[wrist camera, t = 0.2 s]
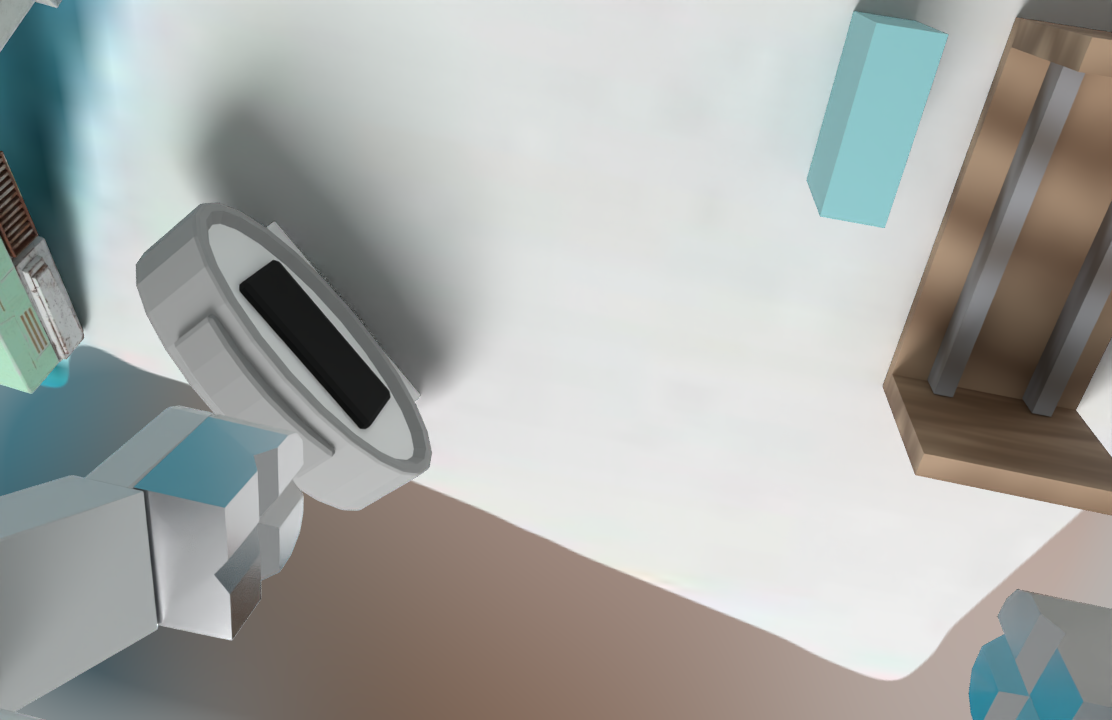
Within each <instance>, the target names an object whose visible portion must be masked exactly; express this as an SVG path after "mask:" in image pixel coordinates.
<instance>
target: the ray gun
mask: <svg viewBox="0 0 1112 720" xmlns="http://www.w3.org/2000/svg"><path fill="white" fill-rule="evenodd" d="M61 1H62V0H0V52H1V50H2V49H3V47H4V46H5V44H6V43H7V42H8V40H9V39H10V37H11V36H12V34H13V33H14V31H15V30H16V28H17V27H18V26H19V24H20V23H21V21H22V20H23V18H24V17H25V15H26V14H27V13H28V11H29V10H30V8H31V7H32V5H33V4H34V2H38V3H41V4H45V5H48V6H52V7H55V8H58V6H59V5H60V3H61ZM83 339H84V334H83V329H82V327H81V324H80V322H79V320H78V317H77V315H76V312H75V310H74V308H73V305H72V303H71V301H70V298H69V296H68V293H67V291H66V289H65V286H64V284H63V282H62V279H61V277H60V274H59V272H58V270H57V267H56V265H55V263H54V260H53V258H52V255H51V253H50V251H49V248H48V246H47V244H46V241H45V239H44V238H43V237H39V236H38V233H37V230H36V228H35V226H34V223H33V221H32V219H31V216H30V214H29V212H28V209H27V207H26V205H25V202H24V200H23V198H22V195H21V193H20V191H19V188H18V186H17V184H16V181H15V179H14V177H13V174H12V172H11V170H10V167H9V165H8V163H7V160H6V158H5V156H4V153H3V151H0V384H1V385H4V386H7V387H11V388H14V389H17V390H21V391H24V392H27V393H33V392H34V391H35V390H36V389H37V388H38V386H39V385H40V384H41V383H42V382H43V381H44V379H45V378H46V377H47V376H48V375H49V373H50V372H51V371H52V370H53V369H54V368H55V366H56V365H57V364H58V363H59V362H60V361H61V360H62V359H67V358H68V357H69V356H70V354H71V353H72V352H73V351H74V350H75V348H76V347H77V346H78V345H79V344H80V342H81V341H82V340H83Z"/></svg>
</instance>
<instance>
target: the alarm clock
mask: <svg viewBox="0 0 1112 720" xmlns="http://www.w3.org/2000/svg"><path fill="white" fill-rule="evenodd" d="M136 286H137V289H138V291H139V294H140V297H141V300H142V303H143V306H144V309H145V312H146V315H147V317H148V318H149V320H150V322H151V324H152V326H153V328H154V329H155V331H156V333H157V335H158V337H159V339H160V340H161V342H162V344H163V346H164V348H165V350H166V351H167V352H168V354H169V355H170V357H171V358H172V360H173V361H174V362H175V364H176V365H177V367H178V368H179V370H180V371H181V372H182V374H183V375H184V377H185V378H186V379H187V381H188V382H189V384H190V385H191V387H192V388H193V389H194V390H195V391H196V392H197V394H198V395H199V396H200V397H201V398H202V400H203V401H204V402H205V403H206V404H207V405H208V407H209V408H210V409H211V410H212V411H213V412H214V414H216V415H218V414H220V415H224V416H229V417H233V418H237V419H241V420H245V421H249V422H254V423H258V424H262V425H266V426H270V427H275V428H279V429H283V430H287V431H291V432H296V433H297V434H298V435H299V437H300V438H301V439H302V440H303V466H302V467H301V468H300V470H299V471H298V472H297V473H296V475H295V476H294V477H293V481H294V482H295V484H296V485H297V486H298V488H299V489H300V490H302V491H303V492H305V493H307V494H308V495H310V496H311V497H313V498H315V499H316V500H318V501H321V502H323V503H325V504H328V505H331V506H333V507H336V508H338V509H341V510H361V509H363V508H364V507H366V506H368V505H369V504H371V503H373V502H375V501H376V500H378V499H380V498H382V497H383V496H385V495H386V494H388V493H390V492H392V491H394V490H395V489H397V488H399V487H400V486H402V485H404V484H406V483H407V482H409V481H411V480H413V479H414V478H416V477H418V476H419V475H421V474H422V473H423V472H425V471H426V470H427V469H428V468H429V467H430V461H431V455H432V451H431V446H430V441H429V437H428V432H427V429H426V427H425V425H424V422H423V420H422V417H421V415H420V413H419V410H418V408H417V406H416V404H415V401H416V400H418V399H419V397H420V396H421V395H420V394H419V393H418V391H417V390H416V389H415V388H414V387H413V385H412V384H411V383H410V382H409V381H408V379H407V378H406V377H405V376H404V375H403V374H402V372H401V371H400V370H399V369H398V368H397V366H396V365H395V364H394V363H393V362H392V360H391V359H390V358H389V357H388V356H387V354H386V353H385V352H384V351H383V350H382V348H381V347H380V346H379V344H378V343H377V342H376V340H375V339H374V338H373V336H372V335H371V334H370V333H369V331H368V330H367V329H366V328H365V326H364V325H363V324H362V322H361V321H360V320H359V319H358V317H357V316H356V315H355V314H354V312H353V311H352V310H351V309H350V308H349V307H348V305H347V304H346V303H345V302H344V301H343V300H342V299H341V298H340V296H339V295H338V294H337V293H336V292H335V291H334V290H333V289H332V288H331V286H330V285H329V284H328V283H327V282H326V281H325V280H324V279H323V278H322V277H321V276H320V275H319V273H318V272H317V271H316V270H315V269H314V267H313V266H312V265H311V264H310V263H309V261H308V260H307V259H306V258H305V257H304V255H303V254H302V253H301V252H300V251H299V249H298V248H297V247H296V246H295V245H294V244H293V242H292V241H291V240H290V239H289V238H288V236H287V235H286V234H285V233H284V232H283V230H282V229H281V228H280V227H279V226H278V224H277V223H276V222H275V221H274V222H273V223H271V224H270V225H269V226H267V227H264V226H263V225H261V224H260V223H258V222H257V221H255V220H253V219H252V218H250V217H249V216H247V215H246V214H244V213H243V212H241V211H239V210H236V209H234V208H231V207H228V206H226V205H223V204H221V203H205V204H200V205H199V206H198V207H196V208H195V209H194V210H193V211H192V212H191V213H189V214H188V215H187V216H186V217H185V218H184V219H183V220H181V221H180V222H179V223H178V224H177V225H176V226H174V227H173V228H172V229H171V230H170V231H169V232H168V233H166V234H165V235H164V236H163V237H162V238H161V239H159V240H158V241H157V242H156V243H155V244H154V245H153V246H151V247H150V248H149V249H148V250H147V251H146V252H145V253H144V254H143V255H142V257H141V258H140V259H139V261H138V262H137V264H136Z"/></svg>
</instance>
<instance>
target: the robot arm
mask: <svg viewBox="0 0 1112 720" xmlns="http://www.w3.org/2000/svg"><path fill="white" fill-rule="evenodd" d="M302 466H303V440H302V439H301V438H300V437H299V435H298V434H297V433H296V432H291V431H287V430H283V429H279V428H275V427H270V426H266V425H262V424H258V423H254V422H249V421H245V420H241V419H237V418H233V417H229V416H224V415H220V414H218V415H216V414H214V413H211V412H206V411H202V410H197V409H193V408H188V407H183V406H174V407H168V408H167V409H165V410H164V411H163V412H162V413H161V414H159V415H158V416H157V417H156V418H155V419H154V420H152V421H151V422H150V423H149V424H148V425H147V426H145V427H144V428H143V429H142V430H141V431H139V432H138V433H137V434H136V435H135V436H133V437H132V438H131V439H130V440H129V441H128V442H126V443H125V444H124V445H123V446H122V447H120V448H119V449H118V450H117V451H116V452H114V453H113V454H112V455H111V456H110V457H109V458H107V459H106V460H105V461H104V462H103V463H101V464H100V465H99V466H98V467H97V468H96V469H94V470H93V471H92V472H91V473H90V474H88V475H87V476H86V477H85V478H83V477H78V476H73V475H70V476H67V477H63V478H60V479H57V480H54V481H50V482H47V483H43V484H40V485H37V486H34V487H30V488H27V489H24V490H20V491H17V492H13V493H10V494H7V495H3V496H0V720H45V719H41V718H37V717H33V716H29V715H25V714H21V713H17V712H15V711H17V710H19V709H21V708H22V707H24V706H26V705H28V704H29V703H31V702H33V701H34V700H36V699H38V698H40V697H41V696H43V695H45V694H46V693H48V692H50V691H52V690H53V689H55V688H57V687H58V686H60V685H62V684H64V683H66V682H67V681H69V680H71V679H72V678H74V677H76V676H78V675H79V674H81V673H83V672H85V671H86V670H88V669H90V668H92V667H93V666H95V665H97V664H98V663H100V662H102V661H104V660H105V659H107V658H109V657H110V656H112V655H114V654H116V653H117V652H119V651H121V650H123V649H124V648H126V647H128V646H129V645H131V644H133V643H135V642H136V641H138V640H140V639H142V638H143V637H145V636H147V635H149V634H150V633H152V632H154V631H156V630H157V629H158V625H161V626H165V627H170V628H175V629H180V630H184V631H189V632H194V633H199V634H204V635H208V636H213V637H218V638H223V639H227V640H233V638H234V637H235V635H236V634H237V633H238V631H239V630H240V628H241V627H242V626H243V624H244V623H245V621H246V620H247V618H248V617H249V615H250V614H251V613H252V611H253V610H254V608H255V607H256V605H257V604H258V603H259V601H260V600H261V580H263V579H266V578H268V577H270V576H272V575H274V574H276V573H279V572H280V570H281V569H282V568H283V566H284V565H285V563H286V561H287V560H288V558H289V557H290V555H291V553H292V551H293V548H294V545H295V543H296V541H297V538H298V535H299V533H300V528H301V523H302V516H303V494H302V492H301V491H300V489H299V488H298V486H297V485H296V484H295V482H294V481H293V477H294V476H295V475H296V473H297V472H298V471H299V470H300V468H301V467H302ZM998 619H999V621H1000V624H1001V627H1002V629H1003V632H1004V635H1002V636H1000V637H998V638H996V639H994V640H993V641H991V642H989V643H987V644H985V645H984V646H982V648H981V650H980V652H979V654H978V657H977V659H976V661H975V663H974V666H973V668H972V672H971V680H970V687H969V702H970V711H971V716H972V719H973V720H1112V609H1110V608H1106V607H1101V606H1096V605H1092V604H1086V603H1082V602H1077V601H1072V600H1067V599H1062V598H1058V597H1053V596H1048V595H1043V594H1038V593H1034V592H1029V591H1024V590H1019V589H1017V590H1016V591H1015V592H1014V593H1012V594H1011V595H1010V596H1009V597H1008V598H1007V599H1006V601H1005V603H1004V605H1003V606H1002V609H1001V610H1000V612H999V614H998Z"/></svg>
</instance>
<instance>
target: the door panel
mask: <svg viewBox="0 0 1112 720" xmlns="http://www.w3.org/2000/svg"><path fill="white" fill-rule="evenodd" d="M947 38H948V34H946V33H944V32H941V31H939V30H936V29H934V28H931V27H929V26H927V25H924V24H922V23H919V22H917V21H913V20H907V19H901V18H894V17H888V16H882V15H876V14H870V13H863V12H857V11H854V12H853V15H852V19H851V22H850V26H849V30H848V33H847V37H846V40H845V44H844V48H843V51H842V55H841V58H840V62H839V66H838V69H837V73H836V76H835V80H834V83H833V87H832V91H831V94H830V98H829V101H828V105H827V109H826V112H825V116H824V119H823V123H822V127H821V130H820V134H819V137H818V141H817V145H816V148H815V152H814V155H813V159H812V163H811V166H810V170H809V173H808V177H807V183H808V185H809V188H810V191H811V193H812V196H813V199H814V201H815V204H816V207H817V209H818V212H819V215H820V216H821V217H826V218H832V219H837V220H843V221H848V222H854V223H859V224H865V225H870V226H876V227H881V228H885V225H886V222H887V219H888V216H889V213H890V210H891V207H892V204H893V201H894V198H895V195H896V192H897V189H898V186H899V183H900V180H901V177H902V174H903V171H904V168H905V165H906V162H907V159H908V156H909V153H910V150H911V147H912V144H913V141H914V138H915V135H916V132H917V129H918V125H919V122H920V119H921V116H922V113H923V110H924V107H925V104H926V101H927V98H928V95H929V92H930V89H931V86H932V83H933V80H934V77H935V74H936V71H937V68H938V65H939V62H940V59H941V56H942V53H943V50H944V47H945V44H946V41H947Z"/></svg>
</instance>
